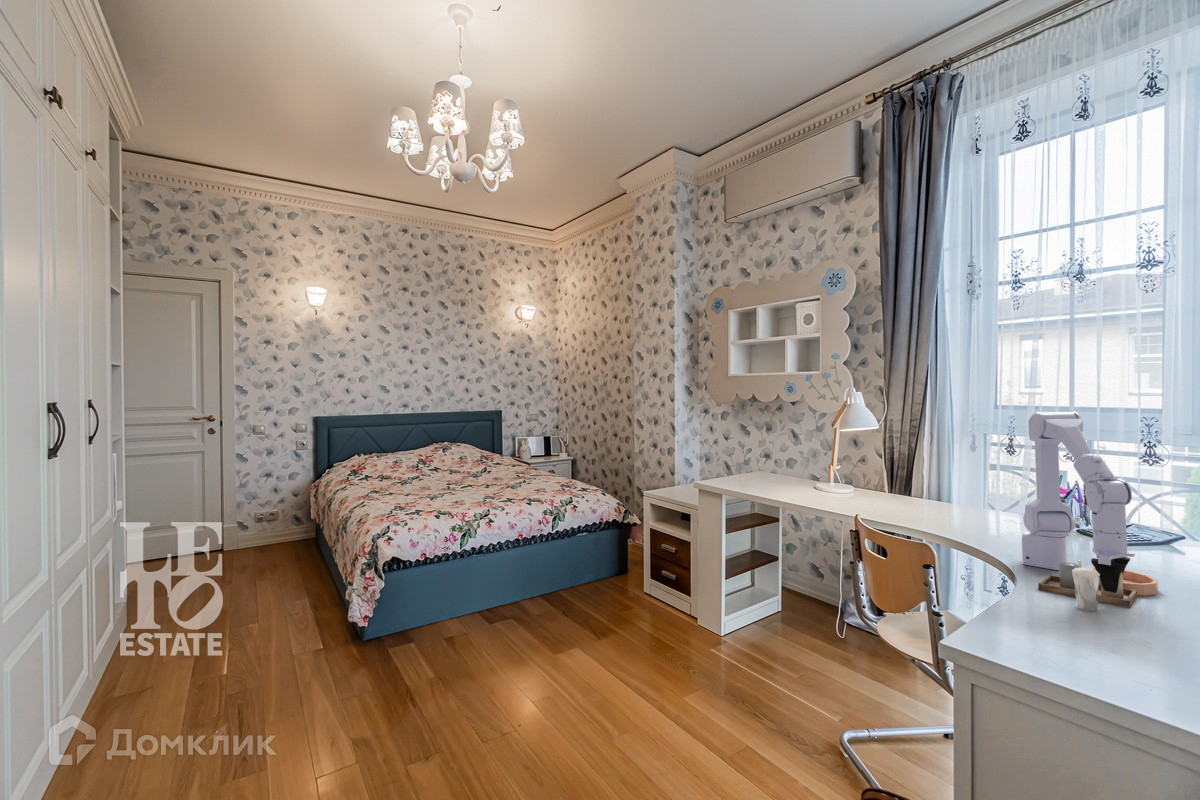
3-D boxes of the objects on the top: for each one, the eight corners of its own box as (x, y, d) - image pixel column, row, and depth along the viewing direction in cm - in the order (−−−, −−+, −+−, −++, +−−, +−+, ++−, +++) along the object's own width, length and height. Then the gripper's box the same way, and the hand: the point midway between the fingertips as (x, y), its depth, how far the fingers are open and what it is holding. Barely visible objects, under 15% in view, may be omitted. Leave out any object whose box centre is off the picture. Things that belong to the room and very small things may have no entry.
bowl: (1078, 585, 131) (1077, 575, 131) (1089, 574, 139) (1089, 564, 139) (1152, 599, 121) (1152, 588, 121) (1160, 586, 129) (1160, 576, 129)
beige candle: (1099, 596, 123) (1098, 571, 123) (1102, 592, 125) (1101, 567, 125) (1122, 601, 120) (1120, 575, 120) (1125, 597, 122) (1123, 571, 122)
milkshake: (1094, 605, 119) (1092, 561, 119) (1105, 614, 114) (1103, 568, 114) (1068, 602, 121) (1066, 559, 121) (1078, 611, 116) (1076, 566, 116)
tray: (1038, 589, 129) (1038, 583, 129) (1049, 580, 135) (1049, 574, 135) (1129, 607, 117) (1129, 601, 117) (1137, 597, 123) (1136, 590, 123)
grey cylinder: (1058, 588, 129) (1057, 564, 129) (1062, 585, 131) (1061, 561, 131) (1078, 592, 126) (1077, 567, 126) (1082, 588, 128) (1081, 564, 128)
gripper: (1127, 539, 115) (1130, 601, 115) (1138, 529, 124) (1141, 586, 124) (1084, 534, 121) (1087, 593, 120) (1098, 524, 130) (1100, 579, 129)
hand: (1112, 589), depth 122 cm, fingers closed on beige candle, 4 cm apart
